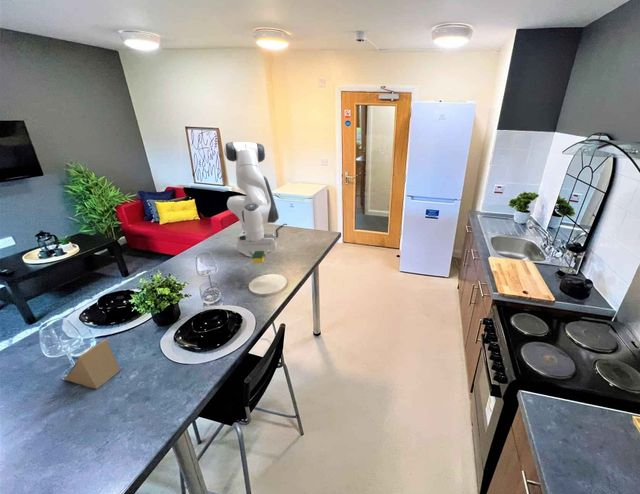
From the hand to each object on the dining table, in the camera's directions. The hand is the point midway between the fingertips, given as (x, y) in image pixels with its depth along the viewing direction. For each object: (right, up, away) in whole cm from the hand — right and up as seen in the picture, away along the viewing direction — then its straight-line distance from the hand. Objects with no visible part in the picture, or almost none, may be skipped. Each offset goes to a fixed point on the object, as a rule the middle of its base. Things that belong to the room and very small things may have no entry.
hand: (259, 257), depth 159 cm
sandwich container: (-40, -40, -55) cm, 78 cm away
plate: (+5, -16, +1) cm, 16 cm away
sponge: (0, -1, +1) cm, 2 cm away
